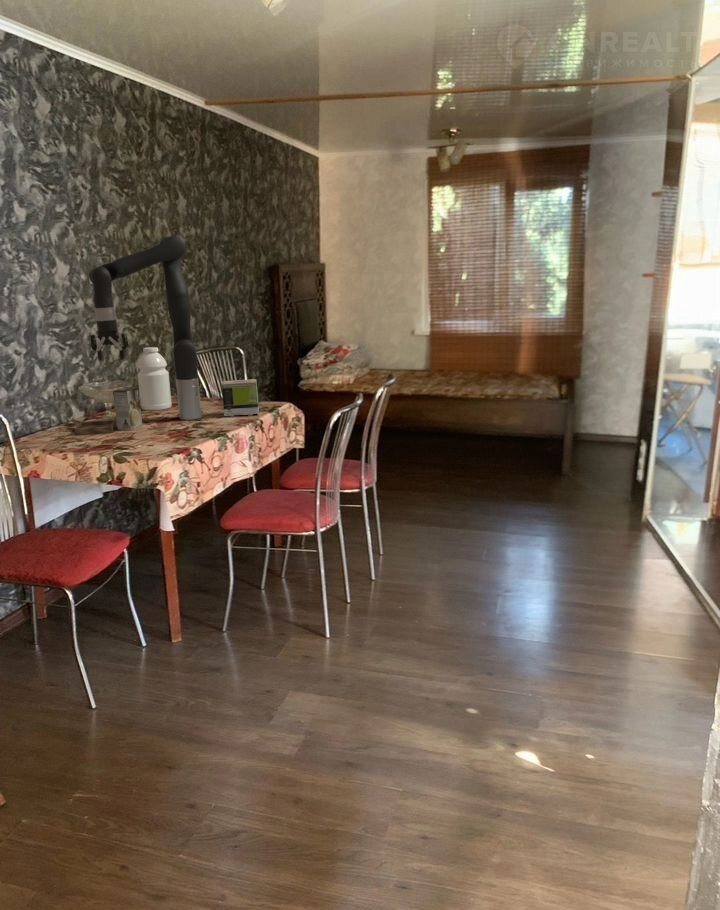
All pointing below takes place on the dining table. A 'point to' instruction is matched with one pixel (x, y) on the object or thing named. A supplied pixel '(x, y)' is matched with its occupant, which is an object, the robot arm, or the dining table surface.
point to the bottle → (153, 381)
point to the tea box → (240, 397)
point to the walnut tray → (95, 427)
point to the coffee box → (127, 408)
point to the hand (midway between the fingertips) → (112, 360)
